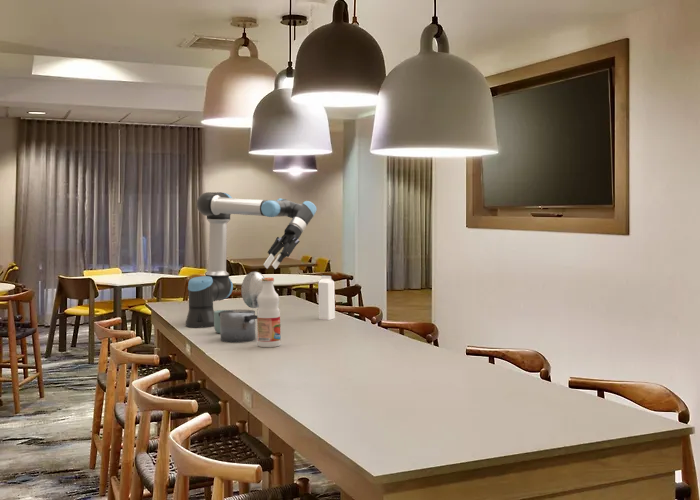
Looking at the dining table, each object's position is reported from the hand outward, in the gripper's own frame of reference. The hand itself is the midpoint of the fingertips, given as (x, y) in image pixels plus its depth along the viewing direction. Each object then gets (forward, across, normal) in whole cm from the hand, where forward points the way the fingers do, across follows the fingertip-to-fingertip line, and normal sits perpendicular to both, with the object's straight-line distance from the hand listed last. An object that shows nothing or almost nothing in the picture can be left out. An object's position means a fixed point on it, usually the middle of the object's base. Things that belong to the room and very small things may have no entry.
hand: (269, 266), depth 345 cm
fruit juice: (+37, -22, -6) cm, 43 cm away
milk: (-12, +10, -55) cm, 57 cm away
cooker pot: (+35, 0, -8) cm, 36 cm away
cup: (+30, +19, -13) cm, 38 cm away
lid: (+14, 0, 0) cm, 14 cm away
